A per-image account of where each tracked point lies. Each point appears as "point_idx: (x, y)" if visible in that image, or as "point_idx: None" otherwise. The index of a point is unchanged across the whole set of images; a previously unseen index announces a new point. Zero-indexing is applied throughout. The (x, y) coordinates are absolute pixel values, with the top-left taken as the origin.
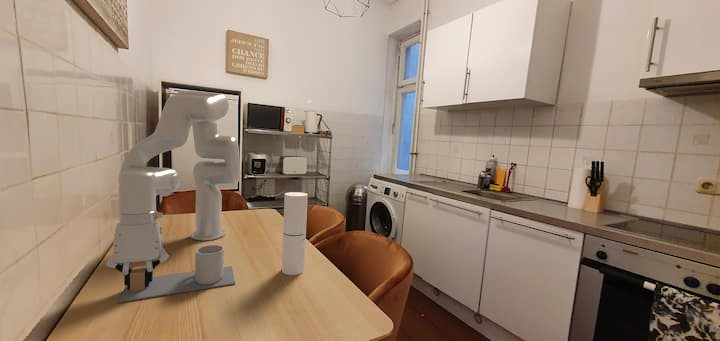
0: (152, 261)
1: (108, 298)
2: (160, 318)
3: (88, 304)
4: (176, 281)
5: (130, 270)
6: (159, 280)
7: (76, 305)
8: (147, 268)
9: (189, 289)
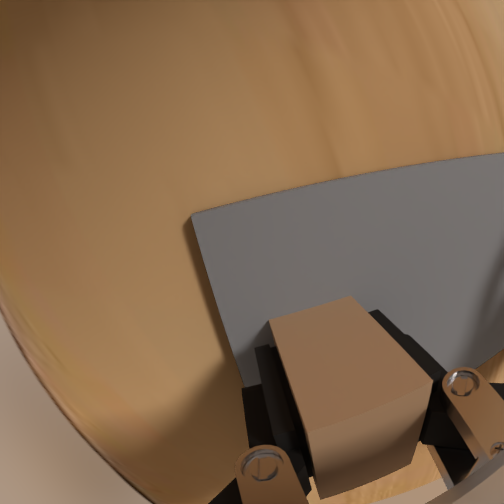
0: (494, 421)
1: (193, 417)
2: (409, 469)
3: (143, 443)
4: (477, 278)
5: (307, 481)
6: (410, 256)
7: (102, 439)
8: (436, 457)
9: (497, 350)
